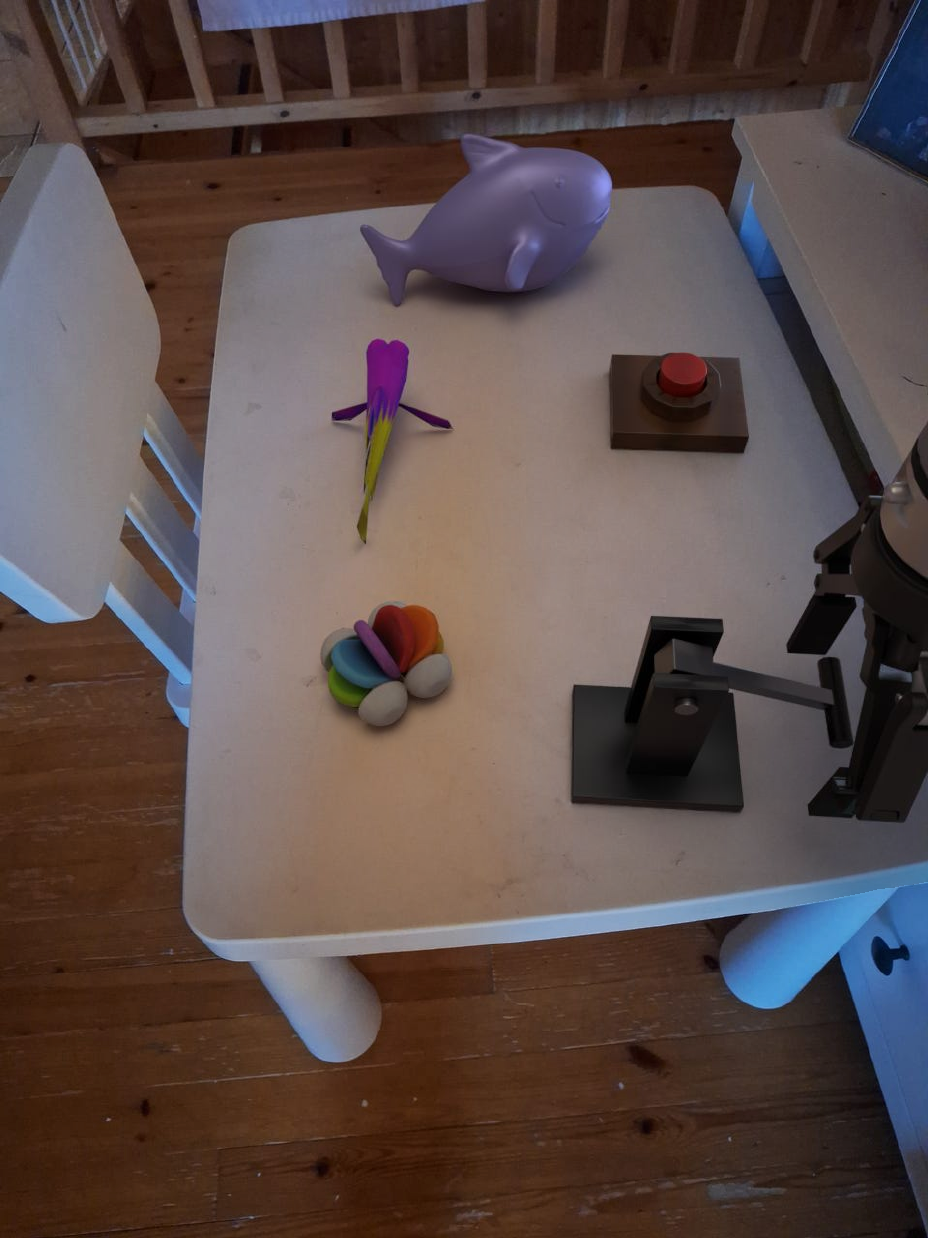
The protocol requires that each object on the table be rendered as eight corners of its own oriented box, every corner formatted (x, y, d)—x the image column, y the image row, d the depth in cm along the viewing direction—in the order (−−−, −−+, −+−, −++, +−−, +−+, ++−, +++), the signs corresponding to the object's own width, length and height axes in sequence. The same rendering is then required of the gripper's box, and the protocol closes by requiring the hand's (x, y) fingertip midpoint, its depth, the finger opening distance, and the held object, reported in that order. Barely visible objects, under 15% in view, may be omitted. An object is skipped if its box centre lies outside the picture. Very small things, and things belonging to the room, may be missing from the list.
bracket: (729, 699, 69) (782, 594, 56) (740, 813, 64) (799, 725, 52) (572, 691, 70) (589, 585, 57) (571, 803, 65) (589, 714, 52)
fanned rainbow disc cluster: (470, 682, 70) (467, 635, 64) (363, 748, 68) (350, 705, 62) (411, 607, 74) (404, 555, 68) (309, 667, 72) (291, 619, 65)
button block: (734, 374, 87) (744, 342, 84) (743, 453, 82) (754, 422, 78) (609, 371, 88) (613, 339, 84) (610, 448, 82) (615, 417, 79)
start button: (701, 367, 83) (705, 352, 81) (704, 399, 80) (708, 384, 79) (657, 366, 83) (660, 351, 81) (659, 397, 81) (662, 383, 79)
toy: (460, 379, 86) (453, 314, 76) (436, 567, 80) (424, 524, 71) (340, 371, 87) (317, 306, 77) (307, 556, 81) (279, 512, 72)
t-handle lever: (826, 671, 61) (849, 655, 59) (838, 753, 58) (864, 739, 56) (652, 629, 58) (671, 611, 56) (656, 713, 55) (675, 697, 53)
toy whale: (638, 282, 88) (616, 104, 78) (393, 353, 90) (342, 187, 80) (606, 243, 99) (583, 82, 89) (387, 307, 100) (341, 156, 91)
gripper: (839, 358, 49) (745, 580, 68) (922, 762, 37) (780, 898, 56) (980, 361, 49) (847, 584, 68) (1112, 773, 37) (904, 906, 55)
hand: (816, 726), depth 62 cm, fingers open, 11 cm apart
